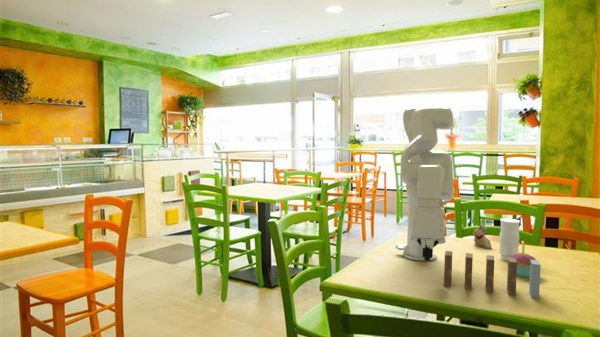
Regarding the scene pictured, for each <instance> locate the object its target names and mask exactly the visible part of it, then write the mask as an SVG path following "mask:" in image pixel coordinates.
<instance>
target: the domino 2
mask: <svg viewBox="0 0 600 337" xmlns="http://www.w3.org/2000/svg"><path fill="white" fill-rule="evenodd" d="M464 259H465V264H464V266H465V267H464V290H470V291H471V290H473V289H472V287H473V286H472V285H473V261H474V260H473V259H474V258H473V253H470V252H465V258H464Z"/></svg>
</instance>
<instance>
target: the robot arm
mask: <svg viewBox="0 0 600 337" xmlns="http://www.w3.org/2000/svg"><path fill="white" fill-rule="evenodd" d="M402 120H403V127H404V131H405V134H406V137H407V140H408V144H407V145H406V147H405V148H404V150H403V151H402V153H401V156H400V178H401V182H402V183H404V184H405V191H406V197H407V198H406V199H407V239H406V240H407V241H406V243H404V244H401V243H396V244H395V248H396V250H398V251H403V252H402V256H403V257H404V258H405V259H408V260H413V261H420V262H431V261H434V260H436V259H437V254H436V253H435V252H434V248H436V246H437V245H440V244H446V237H445V236H446V214H445V208H444V207H442V206H446V205H447V202H450V201H452V199H453V197H454V193H455V187H454V186H455V185H454V170H453V169H454V168H453V167H454V166H453V159H452V156H451V154H450V153H449V152H448V151H445V150H433V149H434V148H435V147H436V146H437V144H438V132H437V131H438V130H440V131H441V130H450V129H451V128H452V126H453V124H454V114H453V110H452V109H451V108H450V107H449V106H446V105H439V106H438V105H434V106H433V105H422V106H421V105H418V106H417V105H416V106H410V107H407V108H406V109H405V110H404V111H403V115H402Z"/></svg>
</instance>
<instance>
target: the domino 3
mask: <svg viewBox="0 0 600 337" xmlns="http://www.w3.org/2000/svg"><path fill="white" fill-rule="evenodd" d="M485 265H486V266H485V292H486V293H492V294H493V293H494V283H495V282H494V281H495V279H494V278H495V256H494V255H492V254H491V255H489V254H486V264H485Z"/></svg>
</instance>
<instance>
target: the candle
mask: <svg viewBox="0 0 600 337" xmlns="http://www.w3.org/2000/svg"><path fill="white" fill-rule="evenodd" d="M520 223H521V221H520V220H519V219H514V218H500V233H499V240H498V241H499V242H498V243H499V249H498V254H500V256H499V258H500V260H503V261H507V262H508V257H511V256H513V255H514V254H519V246H520Z"/></svg>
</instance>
